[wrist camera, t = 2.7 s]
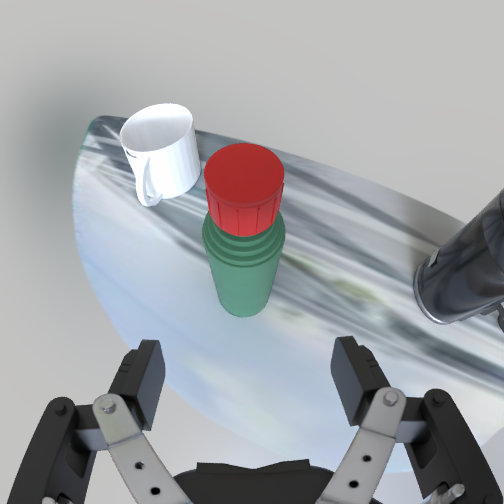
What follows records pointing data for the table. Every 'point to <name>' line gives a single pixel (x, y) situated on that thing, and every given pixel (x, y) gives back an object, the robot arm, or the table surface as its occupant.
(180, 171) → the mug
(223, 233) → the bottle
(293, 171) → the table surface
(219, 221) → the cap
